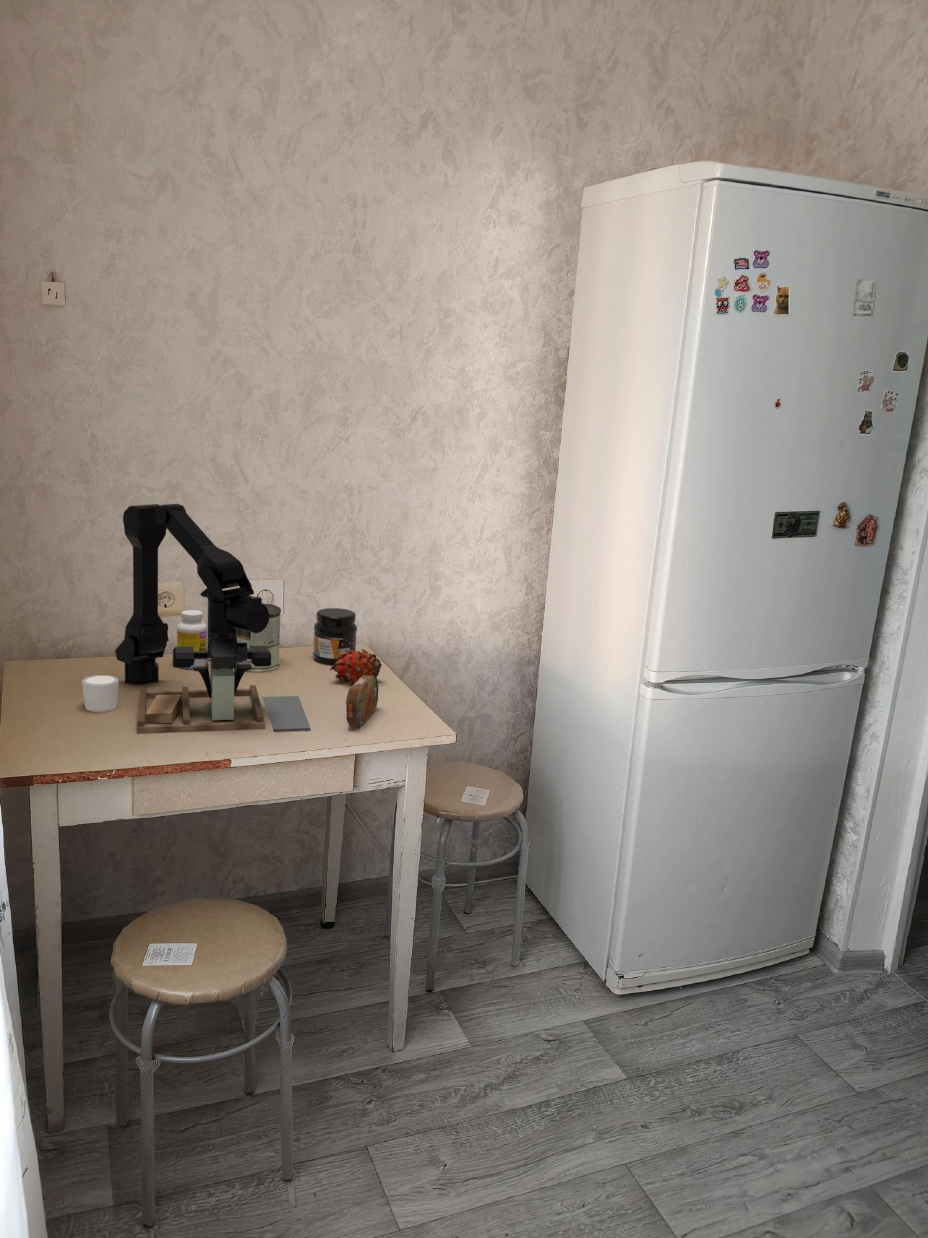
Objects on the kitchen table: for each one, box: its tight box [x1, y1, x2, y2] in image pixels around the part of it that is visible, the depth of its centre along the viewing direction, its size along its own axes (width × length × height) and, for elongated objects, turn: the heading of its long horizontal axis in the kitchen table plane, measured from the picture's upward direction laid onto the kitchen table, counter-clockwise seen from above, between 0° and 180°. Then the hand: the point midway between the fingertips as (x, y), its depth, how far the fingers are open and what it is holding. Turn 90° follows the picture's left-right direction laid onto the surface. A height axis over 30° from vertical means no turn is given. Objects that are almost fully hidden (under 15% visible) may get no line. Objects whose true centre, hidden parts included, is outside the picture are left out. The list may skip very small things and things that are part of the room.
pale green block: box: [209, 661, 235, 721], centre depth 189 cm, size 4×12×9 cm, turn 17°
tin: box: [345, 675, 379, 728], centre depth 195 cm, size 15×3×8 cm, turn 168°
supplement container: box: [312, 607, 358, 666], centre depth 233 cm, size 10×10×12 cm
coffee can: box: [237, 603, 282, 673], centre depth 223 cm, size 10×10×14 cm
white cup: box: [81, 674, 120, 713], centre depth 188 cm, size 7×7×7 cm
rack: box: [137, 684, 266, 735], centre depth 189 cm, size 23×20×4 cm
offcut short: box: [145, 694, 182, 725], centre depth 187 cm, size 5×11×2 cm, turn 6°
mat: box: [262, 695, 311, 733], centre depth 195 cm, size 8×19×1 cm, turn 17°
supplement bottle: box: [176, 609, 208, 670], centre depth 220 cm, size 7×7×13 cm
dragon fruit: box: [329, 648, 383, 684], centre depth 218 cm, size 8×8×12 cm
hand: (221, 697), depth 190 cm, fingers closed on pale green block, 4 cm apart
